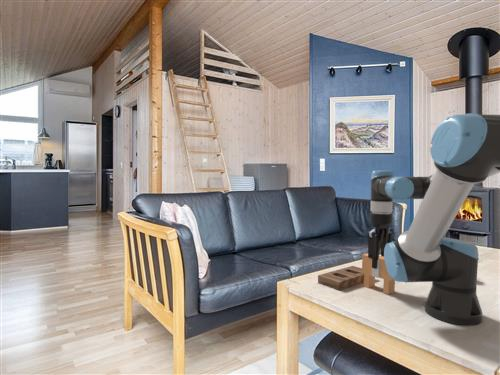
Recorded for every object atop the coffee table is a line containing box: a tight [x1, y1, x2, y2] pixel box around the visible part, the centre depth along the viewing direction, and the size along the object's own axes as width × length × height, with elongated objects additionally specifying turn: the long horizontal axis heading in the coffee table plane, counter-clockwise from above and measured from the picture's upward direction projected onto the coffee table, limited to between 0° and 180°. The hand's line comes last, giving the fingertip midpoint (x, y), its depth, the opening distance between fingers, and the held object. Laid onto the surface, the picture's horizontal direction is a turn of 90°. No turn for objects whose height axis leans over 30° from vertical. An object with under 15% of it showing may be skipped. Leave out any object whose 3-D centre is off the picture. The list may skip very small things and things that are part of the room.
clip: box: [361, 252, 396, 295], centre depth 126 cm, size 12×4×12 cm, turn 37°
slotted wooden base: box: [317, 265, 364, 291], centre depth 136 cm, size 22×10×3 cm, turn 127°
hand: (379, 275), depth 126 cm, fingers closed on clip, 4 cm apart
